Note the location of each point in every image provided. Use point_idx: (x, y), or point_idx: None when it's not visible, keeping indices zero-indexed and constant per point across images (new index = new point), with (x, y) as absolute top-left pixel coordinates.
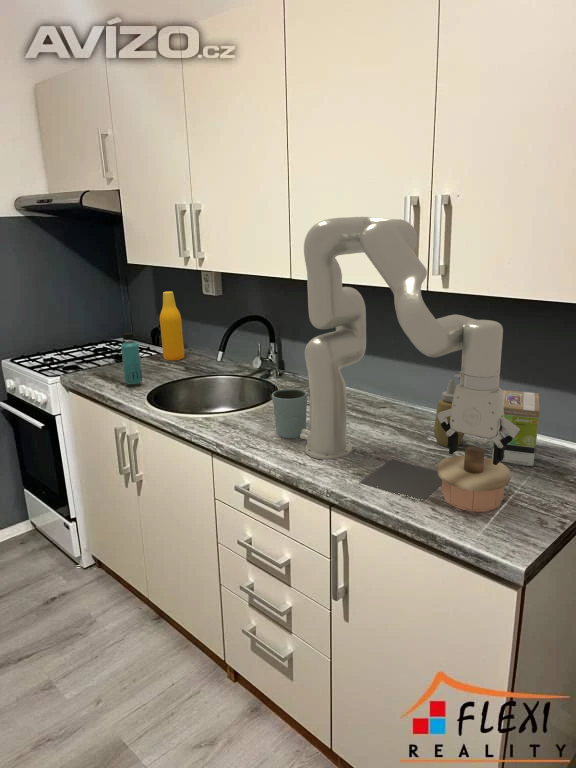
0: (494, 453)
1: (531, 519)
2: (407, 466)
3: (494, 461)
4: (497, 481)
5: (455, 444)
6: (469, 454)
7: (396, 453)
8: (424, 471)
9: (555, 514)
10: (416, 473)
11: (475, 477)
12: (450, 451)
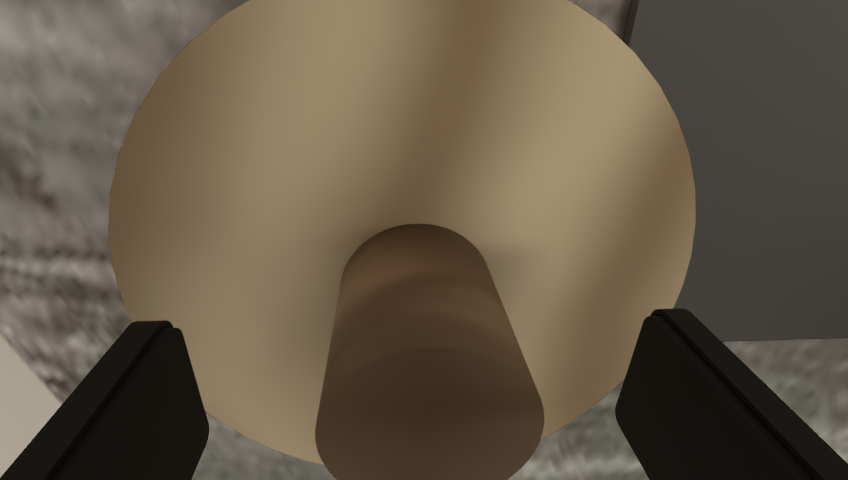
0: (72, 437)
1: (63, 169)
2: (777, 312)
3: (132, 343)
4: (148, 199)
5: (676, 440)
6: (454, 333)
7: (829, 392)
8: (691, 311)
9: (20, 278)
10: (726, 275)
11: (340, 168)
12: (685, 324)
